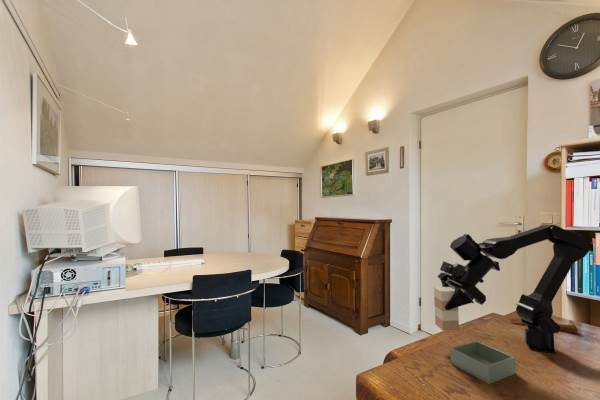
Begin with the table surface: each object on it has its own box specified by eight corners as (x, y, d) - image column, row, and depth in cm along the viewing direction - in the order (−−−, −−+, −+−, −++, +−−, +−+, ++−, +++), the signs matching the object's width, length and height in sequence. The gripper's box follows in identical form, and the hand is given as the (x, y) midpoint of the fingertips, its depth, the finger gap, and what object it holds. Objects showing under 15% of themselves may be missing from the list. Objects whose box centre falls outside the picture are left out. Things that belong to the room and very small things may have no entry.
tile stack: (450, 323, 93) (449, 286, 94) (459, 330, 88) (457, 291, 89) (435, 324, 94) (433, 287, 94) (442, 330, 89) (441, 291, 89)
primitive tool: (510, 324, 110) (509, 315, 110) (510, 320, 115) (509, 311, 115) (579, 337, 99) (578, 326, 99) (576, 331, 103) (575, 321, 103)
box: (476, 354, 87) (476, 340, 87) (515, 373, 77) (515, 357, 77) (450, 363, 83) (450, 348, 83) (488, 383, 73) (488, 366, 73)
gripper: (442, 249, 101) (411, 281, 101) (473, 257, 83) (436, 297, 82) (465, 271, 101) (435, 303, 100) (502, 284, 82) (465, 324, 82)
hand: (441, 306), depth 91 cm, fingers closed on tile stack, 5 cm apart
